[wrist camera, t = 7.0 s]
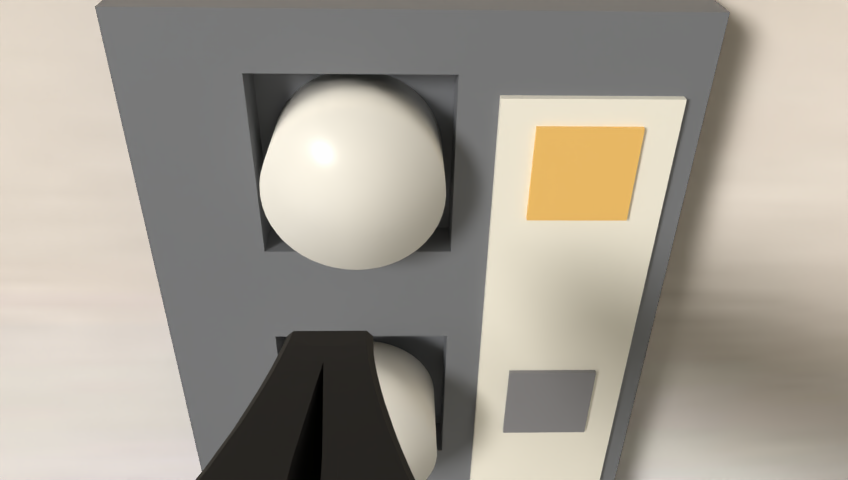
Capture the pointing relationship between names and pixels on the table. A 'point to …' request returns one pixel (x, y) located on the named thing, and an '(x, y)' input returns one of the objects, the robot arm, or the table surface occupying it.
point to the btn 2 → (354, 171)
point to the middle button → (409, 405)
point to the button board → (463, 213)
